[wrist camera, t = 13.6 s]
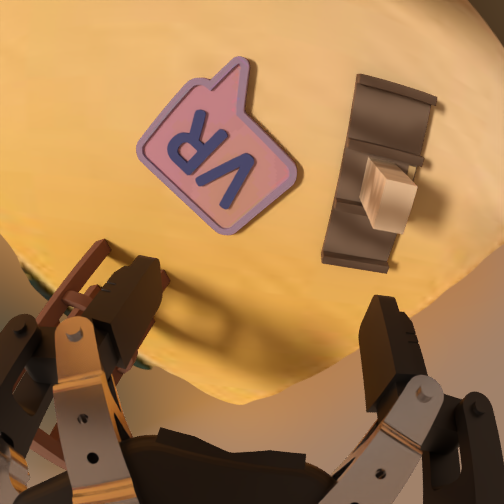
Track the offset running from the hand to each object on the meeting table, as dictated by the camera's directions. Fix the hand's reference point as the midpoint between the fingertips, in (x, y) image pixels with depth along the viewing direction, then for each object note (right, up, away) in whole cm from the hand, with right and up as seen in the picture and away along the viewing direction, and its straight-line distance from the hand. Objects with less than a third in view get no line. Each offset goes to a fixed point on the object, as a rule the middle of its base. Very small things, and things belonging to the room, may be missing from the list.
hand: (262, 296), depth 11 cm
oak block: (+16, +11, +25) cm, 32 cm away
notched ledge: (+16, +11, +26) cm, 33 cm away
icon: (-4, +16, +28) cm, 32 cm away
